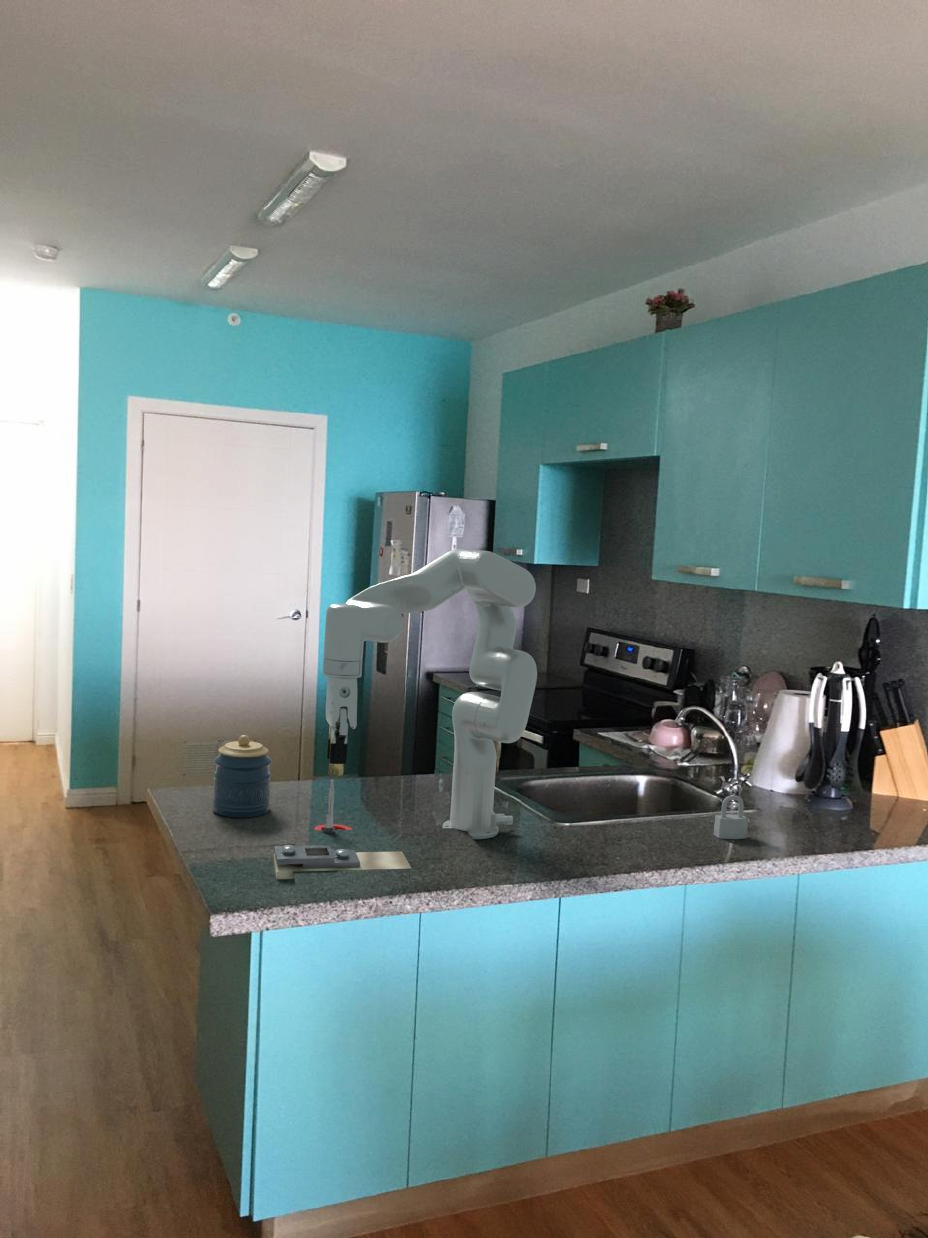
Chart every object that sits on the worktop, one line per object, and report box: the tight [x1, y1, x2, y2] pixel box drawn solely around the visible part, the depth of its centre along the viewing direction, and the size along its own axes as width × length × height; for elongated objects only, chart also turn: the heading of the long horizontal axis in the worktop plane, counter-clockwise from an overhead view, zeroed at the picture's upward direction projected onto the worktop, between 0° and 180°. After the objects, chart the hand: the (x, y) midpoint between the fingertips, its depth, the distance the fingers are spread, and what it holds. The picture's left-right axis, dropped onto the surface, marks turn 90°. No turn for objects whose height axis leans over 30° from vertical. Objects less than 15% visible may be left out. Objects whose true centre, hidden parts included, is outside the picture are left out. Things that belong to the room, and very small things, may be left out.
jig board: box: [272, 850, 412, 880], centre depth 204 cm, size 26×10×2 cm, turn 104°
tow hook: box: [314, 779, 353, 834], centre depth 225 cm, size 8×13×9 cm
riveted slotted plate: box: [273, 844, 360, 869], centre depth 203 cm, size 16×8×3 cm, turn 104°
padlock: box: [713, 794, 749, 840], centre depth 241 cm, size 7×4×10 cm, turn 102°
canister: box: [212, 734, 273, 819], centre depth 237 cm, size 13×13×18 cm
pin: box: [328, 725, 345, 777], centre depth 201 cm, size 3×3×10 cm
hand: (336, 760), depth 201 cm, fingers closed on pin, 2 cm apart
